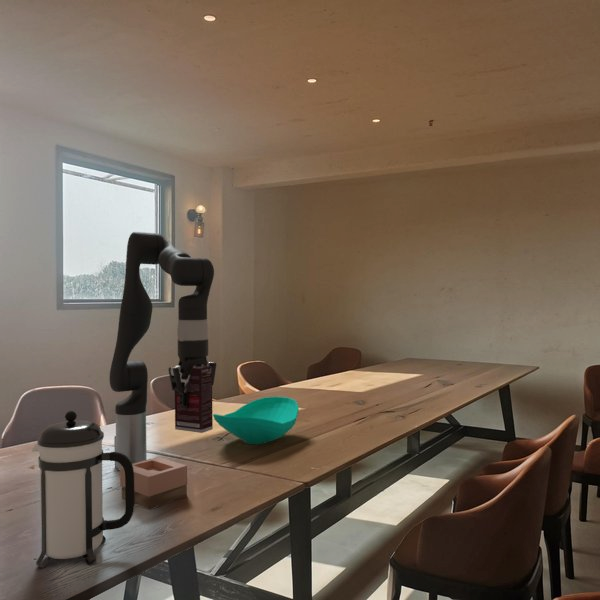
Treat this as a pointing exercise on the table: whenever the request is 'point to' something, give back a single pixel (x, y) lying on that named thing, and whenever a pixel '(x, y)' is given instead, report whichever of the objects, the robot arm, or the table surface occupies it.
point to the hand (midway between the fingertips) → (193, 405)
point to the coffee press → (76, 490)
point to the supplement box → (196, 403)
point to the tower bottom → (158, 497)
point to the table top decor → (261, 419)
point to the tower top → (156, 476)
